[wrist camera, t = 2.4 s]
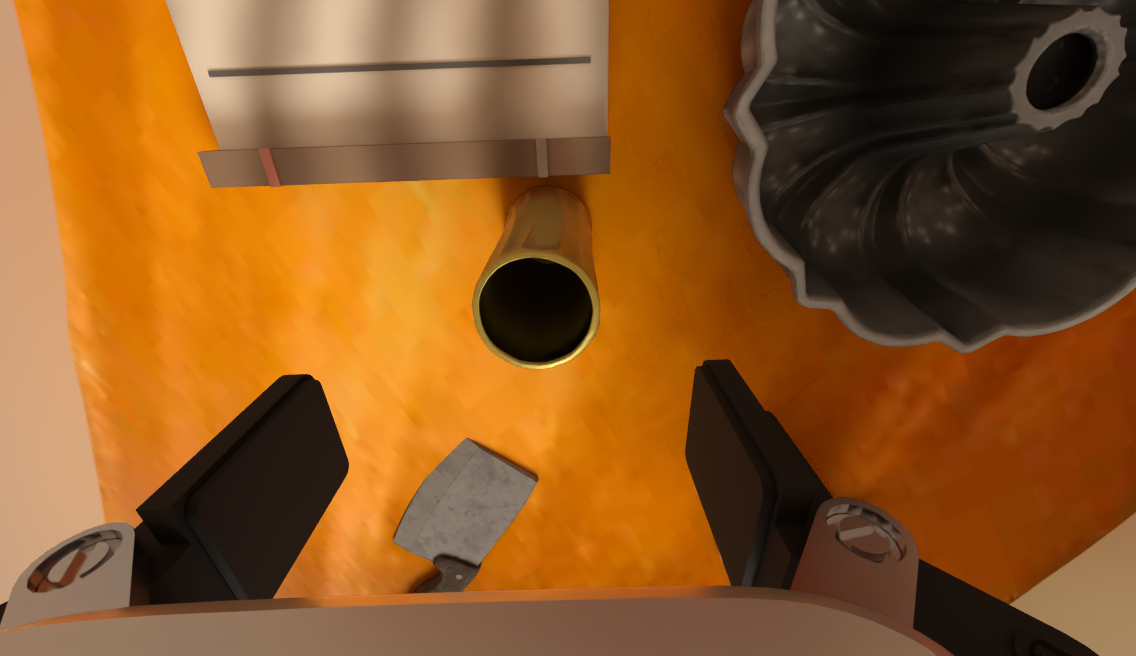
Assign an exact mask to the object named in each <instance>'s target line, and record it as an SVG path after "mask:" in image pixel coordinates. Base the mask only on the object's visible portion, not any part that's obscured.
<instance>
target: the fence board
mask: <svg viewBox="0 0 1136 656" xmlns="http://www.w3.org/2000/svg"><path fill="white" fill-rule="evenodd" d="M165 1H166V3H167V6H168V9H169V12H170V14H171V17H172V20H173V23H174V25H175V28H176V31H177V33H178V36H179V39H180V42H181V44H182V47H183V50H184V53H185V55H186V58H187V61H188V63H189V66H190V69H191V72H192V74H193V77H194V80H195V83H196V85H197V88H198V91H199V93H200V96H201V99H202V102H203V104H204V107H205V110H206V113H207V115H208V118H209V121H210V123H211V126H212V129H213V132H214V134H215V137H216V140H217V143H218V145H219V148H220V150H214V151H202V152H198V155H199V157H200V160H201V162H202V165H203V168H204V170H205V173H206V175H207V178H208V180H209V183H210V185H211V188H220V187H248V186H271V187H281V186H282V185H305V184H333V183H361V182H390V181H418V180H447V179H475V178H503V177H532V176H538V178H539V177H548V176H560V175H588V174H610V137H609V136H608V29H609V0H165Z"/></svg>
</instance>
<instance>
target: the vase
mask: <svg viewBox="0 0 1136 656" xmlns="http://www.w3.org/2000/svg"><path fill="white" fill-rule="evenodd" d="M472 309H473V316H474V322H475V326H476V329H477V332H478V334H479V335H480V337H481V339H482V340H483V342H484V343H485V345H486V346H487V347H488V349H489V350H490V351H491V352H493V353H494V354H495V355H497V356H498V357H500V358H502V359H503V360H505V361H507V362H509V363H511V364H513V365H515V366H518V367H522V368H527V369H548V368H552V367H555V366H558V365H561V364H563V363H566V362H568V361H570V360H572V359H574V358H575V357H577V356H578V355H580V354H581V352H582V351H583V350H584V349H585V348H586V347H587V346H588V345H589V343H590V342H591V341H592V339H593V338H594V336H595V335H596V332H597V330H598V327H599V323H600V299H599V293H598V286H597V279H596V274H595V269H594V261H593V254H592V223H591V219H590V216H589V214H588V212H587V209H586V208H585V206H584V205H583V203H582V202H581V201H580V200H579V199H578V198H577V197H576V196H575V195H573V194H572V193H570V192H568V191H566V190H564V189H561V188H558V187H552V186H546V187H538V188H534V189H531V190H529V191H527V192H526V193H524V194H523V195H521V196H520V197H519V198H518V199H517V200H516V201H515V202H514V203H513V205H512V206H511V208H510V210H509V212H508V214H507V218H506V221H505V228H504V231H503V233H502V235H501V237H500V240H499V242H498V244H497V246H496V248H495V249H494V251H493V253H492V255H491V256H490V258H489V260H488V262H487V264H486V266H485V268H484V270H483V272H482V274H481V276H480V278H479V279H478V281H477V283H476V286H475V290H474V295H473V301H472Z"/></svg>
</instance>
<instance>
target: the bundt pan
mask: <svg viewBox="0 0 1136 656" xmlns="http://www.w3.org/2000/svg"><path fill="white" fill-rule="evenodd" d="M741 61H742V67H743V70H744V75H743V76H742V78H741V79H740V81H739V82H738V84H737V85H736V87H735V89H734V90H733V92H732V93H731V95H730V96H729V98H728V100H727V101H726V103H725V104H724V106H723V108H722V113H723V115H724V117H725V118H726V120H727V121H728V123H729V124H730V126H731V127H732V129H733V131H734V132H735V134H736V135H737V137H738V139H739V144H738V146H737V149H736V152H735V156H734V160H733V169H732V173H733V183H734V188H735V192H736V194H737V197H738V199H739V201H740V202H741V204H742V206H743V207H744V208H745V210H746V214H747V217H748V221H749V224H750V226H751V229H752V231H753V233H754V236H755V237H756V239H757V240H758V242H759V243H760V244H761V246H762V247H763V248H764V249H765V250H766V251H767V252H768V253H769V255H771V256H772V257H773V258H774V259H775V260H776V261H777V263H778V264H779V265H780V267H781V268H782V269H783V271H784V272H785V273H786V274H787V276H788V277H789V278H790V280H791V284H792V295H793V297H794V298H795V300H796V301H797V302H798V303H799V304H800V305H801V306H804V307H808V308H818V309H830V310H832V311H833V312H834V314H835V315H836V316H837V317H838V319H839V320H840V321H841V322H842V324H844V325H845V326H846V327H847V328H848V329H849V330H850V331H852V332H853V333H854V334H856V335H857V336H859V337H861V338H863V339H864V340H867V341H870V342H873V343H875V344H878V345H885V346H891V347H905V346H916V345H923V344H927V343H930V342H935V341H938V342H942V343H944V344H945V345H947V346H948V347H950V348H952V349H953V350H955V351H957V352H959V353H969V352H972V351H974V350H976V349H978V348H980V347H982V346H984V345H986V344H987V343H989V342H991V341H993V340H995V339H997V338H999V337H1001V336H1004V335H1013V336H1021V337H1023V336H1036V335H1042V334H1048V333H1052V332H1056V331H1059V330H1063V329H1065V328H1068V327H1071V326H1073V325H1076V324H1078V323H1081V322H1083V321H1085V320H1087V319H1090V318H1092V317H1094V316H1095V315H1097V314H1099V313H1101V312H1103V311H1104V310H1106V309H1108V308H1109V307H1111V306H1112V305H1114V304H1115V303H1117V302H1118V301H1119V300H1120V299H1122V298H1123V297H1124V296H1126V295H1127V294H1128V293H1129V292H1131V291H1132V290H1133V289H1134V288H1135V287H1136V0H752V1H751V3H750V5H749V8H748V11H747V14H746V17H745V20H744V24H743V28H742V34H741Z"/></svg>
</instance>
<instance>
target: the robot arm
mask: <svg viewBox="0 0 1136 656" xmlns="http://www.w3.org/2000/svg"><path fill="white" fill-rule="evenodd" d="M685 453H686V461H687V465H688V467H689V470H690V473H691V476H692V478H693V481H694V484H695V487H696V489H697V492H698V495H699V498H700V500H701V503H702V506H703V509H704V511H705V514H706V517H707V520H708V522H709V525H710V528H711V531H712V533H713V536H714V539H715V542H716V544H717V548H718V551H719V554H720V557H721V559H722V561H723V564H724V566H725V569H726V572H727V575H728V577H729V580H730V583H731V586H648V587H607V588H572V589H537V590H503V591H473V592H443V593H414V594H386V595H357V596H332V597H307V598H282V599H273V597H274V595H275V594H276V592H277V590H278V589H279V587H280V585H281V584H282V582H283V580H284V579H285V577H286V575H287V574H288V572H289V570H290V569H291V567H292V565H293V564H294V562H295V560H296V559H297V557H298V555H299V554H300V552H301V550H302V549H303V547H304V545H305V544H306V542H307V540H308V539H309V537H310V535H311V534H312V532H313V530H314V529H315V527H316V525H317V524H318V522H319V520H320V519H321V517H322V515H323V514H324V512H325V510H326V509H327V507H328V505H329V504H330V502H331V500H332V499H333V497H334V495H335V494H336V492H337V490H338V489H339V487H340V486H341V484H342V482H343V481H344V479H345V477H346V475H347V473H348V468H349V462H348V458H347V455H346V453H345V450H344V447H343V444H342V441H341V439H340V436H339V433H338V430H337V427H336V425H335V422H334V419H333V416H332V413H331V411H330V408H329V405H328V402H327V399H326V397H325V394H324V391H323V388H322V385H321V383H320V382H319V381H318V380H314V378H313V377H312V376H311V375H308V374H300V375H283V376H281V377H280V378H278V379H277V380H276V381H275V382H274V383H273V384H272V385H271V386H270V387H269V388H268V389H266V390H265V391H264V392H263V393H262V394H261V395H260V396H259V397H258V398H257V399H256V400H255V401H253V402H252V403H251V404H250V405H249V406H248V407H247V408H246V409H245V410H244V411H243V412H241V413H240V414H239V415H238V416H237V417H236V418H235V419H234V420H233V421H232V422H231V423H230V424H228V425H227V426H226V427H225V428H224V429H223V430H222V431H221V432H220V433H219V434H218V435H217V436H215V437H214V438H213V439H212V440H211V441H210V442H209V443H208V444H207V445H206V446H205V447H203V448H202V449H201V450H200V451H199V452H198V453H197V454H196V455H195V456H194V457H193V458H192V459H190V460H189V461H188V462H187V463H186V464H185V465H184V466H183V467H182V468H181V469H180V470H179V471H177V472H176V473H175V474H174V475H173V476H172V477H171V478H170V479H169V480H168V481H167V482H165V483H164V484H163V485H162V486H161V487H160V488H159V489H158V490H157V491H156V492H155V493H154V494H152V495H151V496H150V497H149V498H148V499H147V500H146V501H145V502H144V503H143V504H142V505H140V506H139V507H138V508H137V509H136V511H137V513H138V514H139V516H140V517H141V518H142V520H143V522H142V523H141V524H140V525H139V526H137V527H136V528H135V529H134V528H133V527H132V526H131V525H129V524H127V523H109V524H104V525H100V526H97V527H94V528H91V529H88V530H85V531H83V532H81V533H79V534H77V535H75V536H72V537H70V538H68V539H66V540H65V541H63V542H61V543H59V544H58V545H56V546H55V547H53V548H51V549H50V550H49V551H47V552H46V553H44V554H43V555H42V556H40V557H39V558H38V559H37V560H35V561H34V562H33V563H31V565H30V566H29V567H28V568H27V569H26V570H25V571H24V572H23V573H22V574H21V575H20V576H19V578H18V580H17V581H16V583H15V585H14V586H13V588H12V592H11V595H10V597H9V601H7V602H5V603H3V604H1V605H0V656H1099V655H1097V654H1096V653H1095V652H1094V651H1092V650H1091V649H1089V648H1088V647H1087V646H1085V645H1083V644H1082V643H1080V642H1078V641H1077V640H1075V639H1073V638H1072V637H1070V636H1068V635H1067V634H1065V633H1063V632H1061V631H1059V630H1057V629H1055V628H1053V627H1051V626H1049V625H1047V624H1045V623H1043V622H1042V621H1039V620H1038V619H1036V618H1034V617H1032V616H1030V615H1028V614H1026V613H1024V612H1022V611H1020V610H1018V609H1016V608H1014V607H1012V606H1010V605H1008V604H1006V603H1005V602H1003V601H1001V600H999V599H997V598H995V597H993V596H991V595H989V594H987V593H985V592H983V591H981V590H979V589H977V588H975V587H973V586H971V585H969V584H968V583H966V582H964V581H962V580H960V579H958V578H956V577H954V576H952V575H950V574H948V573H946V572H944V571H942V570H940V569H938V568H936V567H934V566H932V565H931V564H929V563H927V562H925V561H923V560H921V559H919V554H918V548H917V544H916V542H915V541H914V539H913V537H912V535H911V534H910V532H909V531H908V530H907V529H906V528H905V527H904V526H903V525H902V524H901V523H900V522H899V521H898V520H897V519H895V518H894V517H892V516H891V515H890V514H888V513H887V512H886V511H884V510H882V509H880V508H878V507H876V506H874V505H872V504H870V503H867V502H864V501H861V500H858V499H852V498H844V497H841V498H833V497H832V496H831V494H830V493H829V492H828V490H827V489H826V487H825V486H824V485H823V483H822V482H821V480H820V479H819V478H818V476H817V475H816V473H815V472H814V471H813V469H812V468H811V466H810V465H809V464H808V462H807V461H806V459H805V458H804V457H803V455H802V454H801V452H800V451H799V450H798V448H797V447H796V445H795V444H794V443H793V441H792V440H791V438H790V437H789V436H788V434H787V433H786V431H785V430H784V429H783V427H782V426H781V424H780V423H779V422H778V420H777V419H776V417H775V416H774V415H773V414H772V413H771V412H768V411H765V410H764V409H763V407H762V406H761V404H760V403H759V401H758V400H757V399H756V397H755V396H754V394H753V393H752V391H751V390H750V389H749V387H748V386H747V384H746V383H745V381H744V380H743V378H742V377H741V376H740V374H739V373H738V371H737V370H736V368H735V367H734V365H733V364H732V363H731V361H730V360H727V359H725V360H705V361H704V362H703V365H702V366H697V367H696V369H695V375H694V383H693V391H692V399H691V408H690V416H689V424H688V432H687V440H686V449H685Z"/></svg>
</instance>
